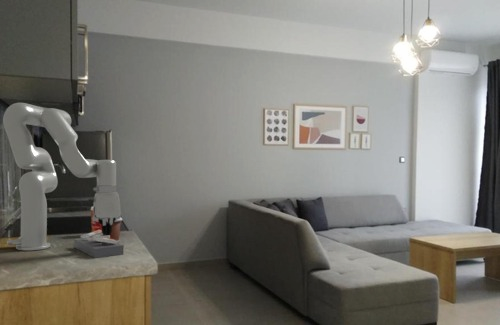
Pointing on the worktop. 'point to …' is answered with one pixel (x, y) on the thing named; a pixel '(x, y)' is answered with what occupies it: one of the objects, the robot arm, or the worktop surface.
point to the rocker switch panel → (98, 248)
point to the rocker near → (104, 240)
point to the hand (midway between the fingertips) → (106, 234)
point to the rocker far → (91, 234)
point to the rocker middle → (97, 236)
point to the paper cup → (95, 223)
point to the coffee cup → (115, 229)
